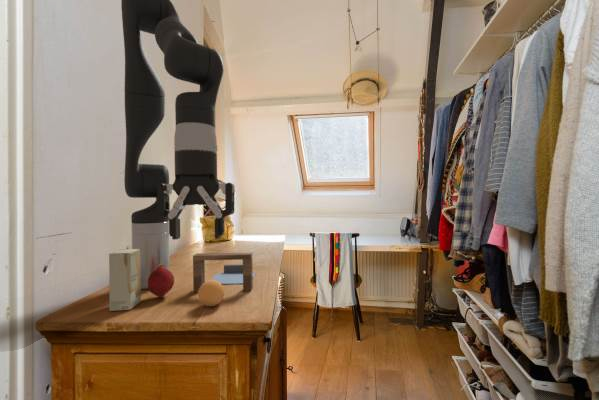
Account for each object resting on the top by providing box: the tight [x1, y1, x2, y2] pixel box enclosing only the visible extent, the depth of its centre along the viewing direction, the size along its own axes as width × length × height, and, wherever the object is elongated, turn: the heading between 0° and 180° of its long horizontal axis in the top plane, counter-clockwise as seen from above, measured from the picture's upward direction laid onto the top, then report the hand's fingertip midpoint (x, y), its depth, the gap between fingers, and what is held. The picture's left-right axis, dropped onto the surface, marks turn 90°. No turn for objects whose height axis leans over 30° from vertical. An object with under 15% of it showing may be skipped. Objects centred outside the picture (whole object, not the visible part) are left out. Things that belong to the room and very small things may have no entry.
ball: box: [197, 279, 225, 307], centre depth 66 cm, size 6×6×6 cm
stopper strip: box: [223, 264, 243, 273], centre depth 95 cm, size 8×1×2 cm, turn 91°
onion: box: [147, 264, 175, 298], centre depth 72 cm, size 6×6×8 cm
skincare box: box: [108, 248, 142, 312], centre depth 66 cm, size 6×4×12 cm
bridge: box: [192, 252, 254, 293], centre depth 77 cm, size 3×14×9 cm, turn 91°
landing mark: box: [210, 272, 256, 285], centre depth 88 cm, size 12×12×1 cm
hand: (197, 238), depth 56 cm, fingers open, 7 cm apart
